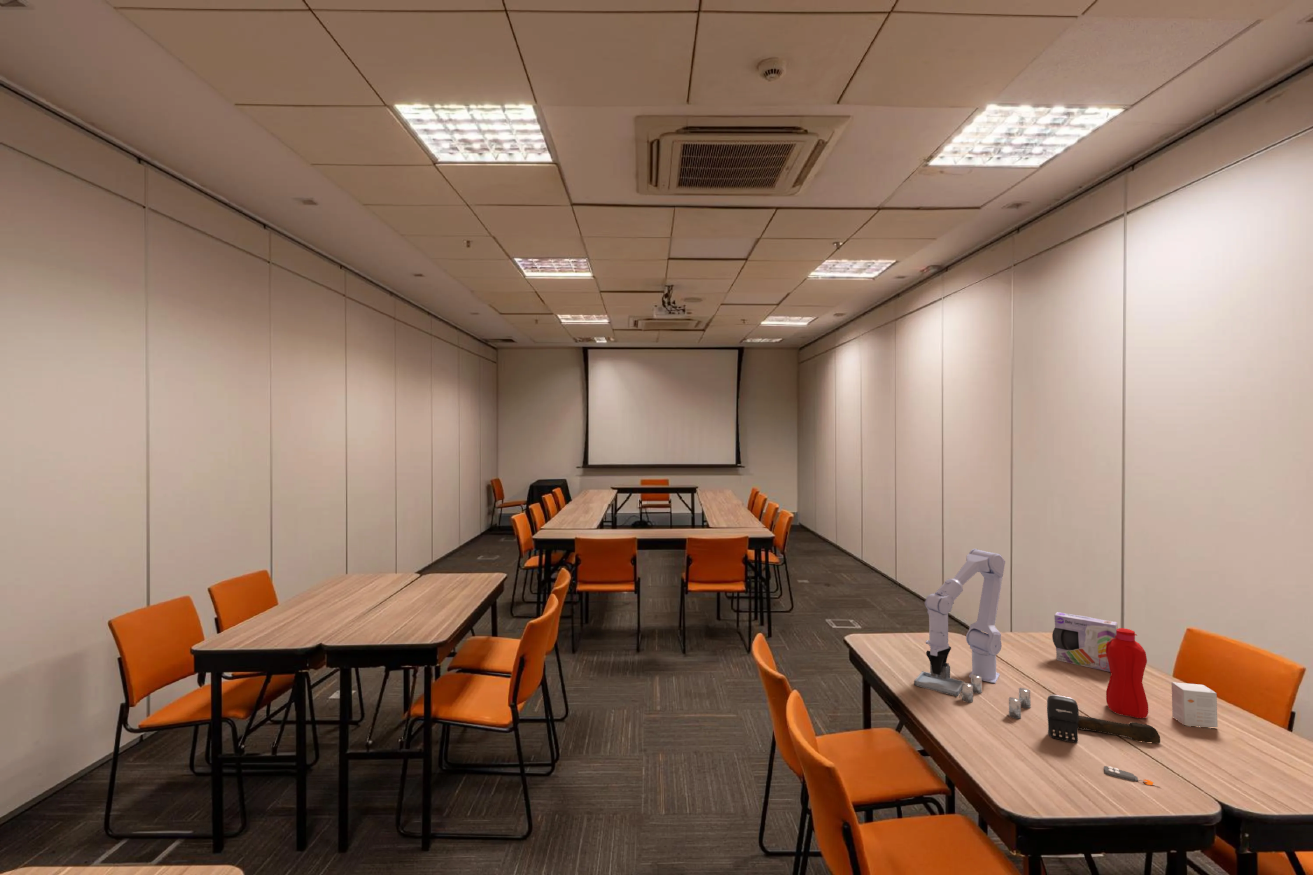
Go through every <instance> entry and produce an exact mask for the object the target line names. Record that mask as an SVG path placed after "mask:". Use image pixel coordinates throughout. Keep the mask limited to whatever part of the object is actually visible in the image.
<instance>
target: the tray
mask: <svg viewBox="0 0 1313 875" xmlns="http://www.w3.org/2000/svg"><path fill="white" fill-rule="evenodd" d="M913 682H914V686H916V687H920V688H923V689H927V690H932V691H935V692H939V693H942V694H947V695H951V696H954V697H959V696H960V694H961V693H962V683H965V681H964V680H961V679H957V678H953V677H950V678H946V679H942V678H936V677H934V676H931V673H930V672H928V671H925V670H922V671H921V672H920V673H919V674H918V676H917V677H915V679H914V681H913Z"/></svg>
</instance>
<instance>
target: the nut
mask: <svg viewBox="0 0 1313 875" xmlns="http://www.w3.org/2000/svg"><path fill="white" fill-rule="evenodd" d="M929 666H930V668H929V673H931V676H934V677H936V678H942V679H946V678H951V665H950V664H949V662H946V663H945V662H943V663H942V669H941V673H940V675H937V674H933V671H932V667H931V663H930V662H929Z"/></svg>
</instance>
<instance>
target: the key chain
mask: <svg viewBox="0 0 1313 875" xmlns="http://www.w3.org/2000/svg"><path fill="white" fill-rule="evenodd" d="M1103 773H1104V774H1105V775H1106V776H1110V777H1114V778H1118V779H1122V780H1125V781H1131V782H1137V783H1138V782H1143V783H1144V784H1145V785H1147V786H1149V785H1153V783H1154V782H1153V781H1151V780H1149V779H1143V780H1142V779H1140V778H1138V776H1136V775H1135V774H1134V773H1133V772H1128V771H1127V770H1122V769H1119V768H1117V767H1113V766H1107V765H1104V766H1103Z"/></svg>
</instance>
